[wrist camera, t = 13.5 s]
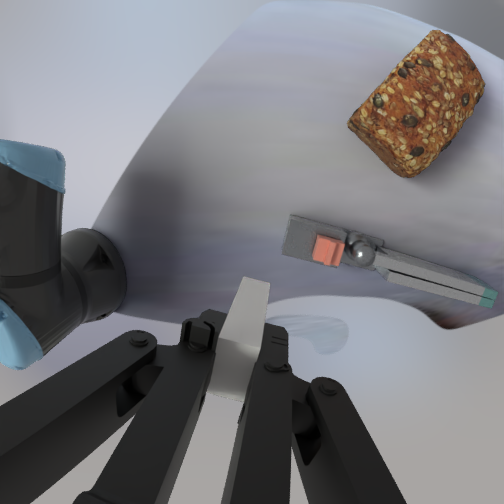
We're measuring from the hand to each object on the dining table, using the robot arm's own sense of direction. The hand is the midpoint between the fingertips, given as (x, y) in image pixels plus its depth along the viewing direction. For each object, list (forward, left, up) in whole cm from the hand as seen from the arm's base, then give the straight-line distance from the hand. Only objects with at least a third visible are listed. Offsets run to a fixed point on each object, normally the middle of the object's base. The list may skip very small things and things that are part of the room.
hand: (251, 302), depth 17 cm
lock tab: (+7, 0, -20) cm, 21 cm away
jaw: (+21, +1, -24) cm, 32 cm away
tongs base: (+17, 0, -24) cm, 30 cm away
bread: (+14, +21, -25) cm, 36 cm away
